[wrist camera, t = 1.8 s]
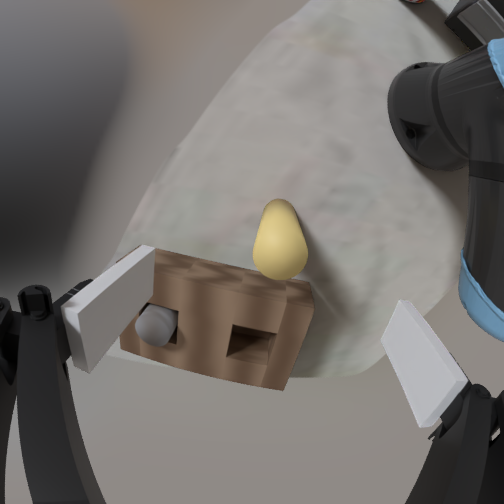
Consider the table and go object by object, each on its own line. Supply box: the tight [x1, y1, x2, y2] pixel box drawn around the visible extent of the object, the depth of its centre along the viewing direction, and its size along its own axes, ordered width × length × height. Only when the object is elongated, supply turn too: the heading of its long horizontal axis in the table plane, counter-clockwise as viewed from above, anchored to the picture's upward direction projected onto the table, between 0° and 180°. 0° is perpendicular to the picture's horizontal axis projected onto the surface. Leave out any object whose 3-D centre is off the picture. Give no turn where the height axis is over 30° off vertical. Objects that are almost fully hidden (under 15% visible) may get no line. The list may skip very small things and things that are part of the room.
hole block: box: [116, 245, 315, 391], centre depth 35 cm, size 24×14×9 cm, turn 78°
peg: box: [253, 199, 308, 280], centre depth 27 cm, size 4×4×15 cm
